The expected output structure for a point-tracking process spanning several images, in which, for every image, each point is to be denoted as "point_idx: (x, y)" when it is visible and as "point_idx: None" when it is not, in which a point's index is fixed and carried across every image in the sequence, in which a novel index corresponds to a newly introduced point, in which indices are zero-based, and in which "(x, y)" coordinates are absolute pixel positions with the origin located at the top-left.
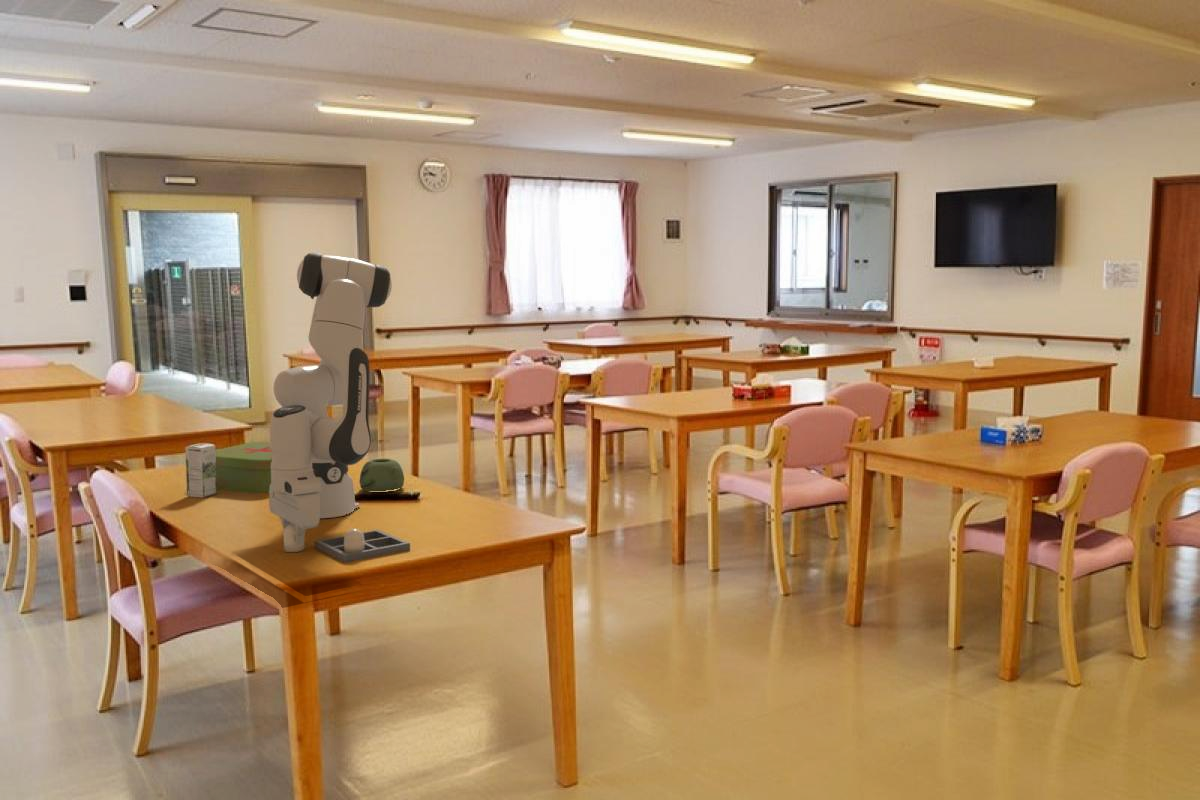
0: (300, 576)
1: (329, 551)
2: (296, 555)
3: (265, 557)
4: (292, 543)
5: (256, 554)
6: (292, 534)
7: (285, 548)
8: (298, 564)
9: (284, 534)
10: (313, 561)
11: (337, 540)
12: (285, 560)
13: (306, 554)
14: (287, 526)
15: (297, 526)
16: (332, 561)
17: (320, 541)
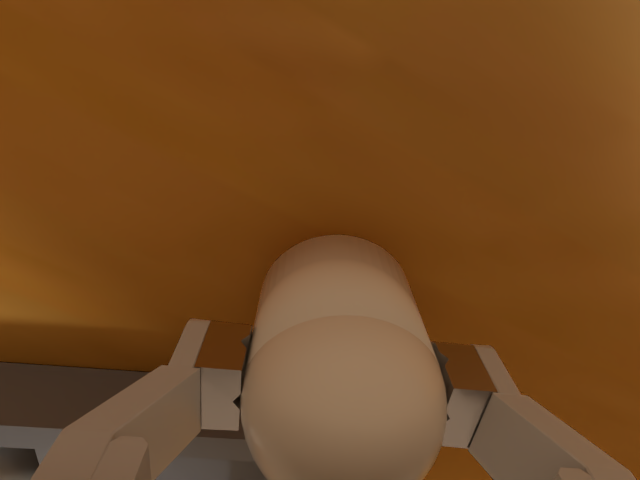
0: None
1: (56, 405)
2: None
3: (433, 96)
4: (268, 303)
5: (573, 87)
6: (254, 366)
7: (331, 245)
8: (66, 182)
9: (352, 323)
10: (86, 285)
11: None
12: (235, 167)
13: None
14: (382, 429)
15: (31, 477)
16: (21, 355)
17: (250, 455)
